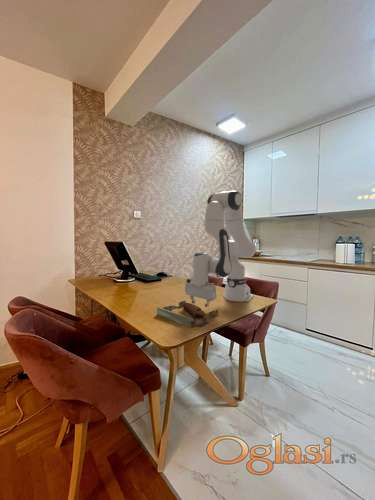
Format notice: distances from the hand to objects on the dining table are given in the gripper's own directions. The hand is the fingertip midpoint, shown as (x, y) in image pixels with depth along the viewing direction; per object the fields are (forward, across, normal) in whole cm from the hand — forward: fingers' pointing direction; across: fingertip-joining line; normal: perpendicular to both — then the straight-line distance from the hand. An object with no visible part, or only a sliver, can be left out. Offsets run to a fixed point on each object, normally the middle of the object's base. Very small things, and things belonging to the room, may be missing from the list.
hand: (199, 305), depth 125 cm
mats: (+3, +1, +12) cm, 12 cm away
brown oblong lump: (+3, -1, +5) cm, 6 cm away
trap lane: (+3, 0, +11) cm, 11 cm away
